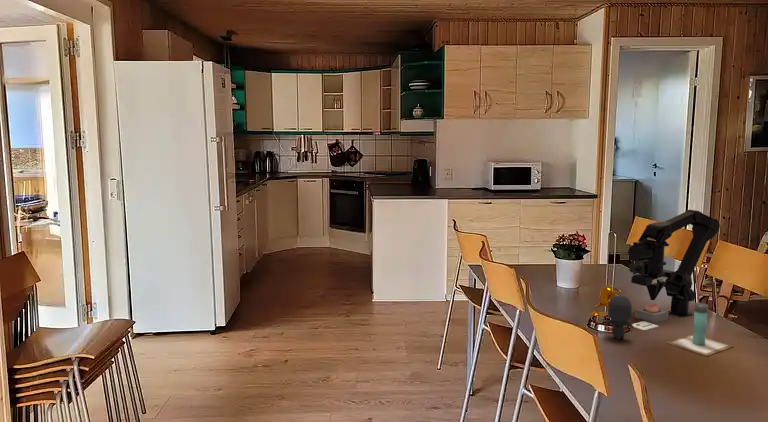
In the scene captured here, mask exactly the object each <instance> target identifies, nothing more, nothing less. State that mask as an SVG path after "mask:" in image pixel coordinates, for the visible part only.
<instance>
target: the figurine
mask: <svg viewBox="0 0 768 422" xmlns="http://www.w3.org/2000/svg"><path fill="white" fill-rule="evenodd" d="M612 286H613V285H609V286H608V285H605V286H603V287H602V288H601V289H600V292H599V295H598V299H599V300H598V301H599V303H597V304H596V305H594V309H595V310H594V311H593V312H590V315H589V317H591V316H600V317H603V316H605V315H608V311H599V310H598V307H602V306H604V307H607V308H609V302H610V300H611V298H612V297H614V296H619V295H621V294H619V293H622V291H621V290H620V289H618V288H615V287H614V286H613V291H612ZM617 292H618V293H617ZM621 296H623V295H621Z"/></svg>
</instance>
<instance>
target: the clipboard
mask: <svg viewBox="0 0 768 422" xmlns="http://www.w3.org/2000/svg"><path fill="white" fill-rule="evenodd" d="M692 340H693V334H690V335H687V336H682V337H679V338H676V339H674V340H670V341H667V342H666V344H667V345H670V346H673V347H676V348H679V349H682V350H685V351H687V352H690V353H694V354H697V355H700V356H702V357H705V358H706V357H709V356H713V355H715V354H718V353H721V352H725V351H727V350H730V349H733V348H734V345H732V344H731V345H730V344H728V343H724V342H721V341H717V340H715V339H712V338H711V339H710V338H709V337H706V338H705V345H703V346H699V345H695V344H693V343H692Z"/></svg>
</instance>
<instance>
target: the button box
mask: <svg viewBox="0 0 768 422" xmlns="http://www.w3.org/2000/svg"><path fill="white" fill-rule="evenodd" d="M645 308H646V306H644V307H641V308H636V309H635V312H634V313H635V314H634V318H636V319H639V320H642V321H645V322H648V323H651V324H657V323H660V322H661V323H662V322H664V321H668V320H669V315H670V313H669V312H668V311H669V310H664V309H661V308H659V312H658V313H650V312H647V311H645Z"/></svg>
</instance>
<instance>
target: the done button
mask: <svg viewBox="0 0 768 422" xmlns="http://www.w3.org/2000/svg"><path fill="white" fill-rule="evenodd" d="M645 307H646V308H645V311H647V312H650V313H658V312H659V309H660V305H659V304H656V303H646V304H645Z"/></svg>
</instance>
